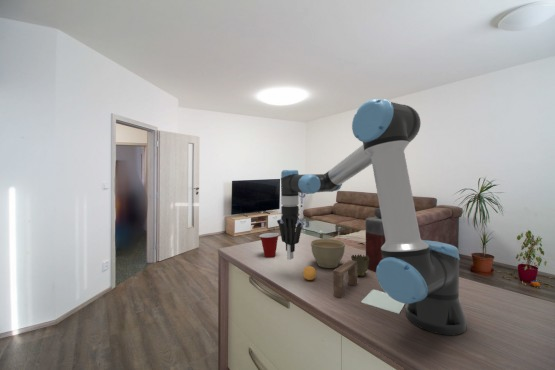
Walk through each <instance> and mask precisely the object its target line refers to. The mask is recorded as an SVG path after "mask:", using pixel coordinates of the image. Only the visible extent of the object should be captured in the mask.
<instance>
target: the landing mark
mask: <svg viewBox="0 0 555 370" xmlns="http://www.w3.org/2000/svg"><path fill="white" fill-rule="evenodd" d="M360 303H362V304H365V305H368V306H371V307H375V308H377V309H381V310H385V311H387V312H391V313H394V314H398V315H400V313H401V312H402V310H403V308H404V306H406V303H401V302H398V301H396V300H394V299H393V298H391V297H390V296H389V295H388V294H387V292H385V291H381V290H378V289H372V290H370V292H369V293H368V294H367V295H366V296H365V297H364V298H363V299H362V300H361V302H360Z"/></svg>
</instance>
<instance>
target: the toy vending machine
mask: <svg viewBox="0 0 555 370" xmlns="http://www.w3.org/2000/svg"><path fill="white" fill-rule="evenodd" d="M374 215H375V216H373V217H367V218H365V256H367V257H369V266H368V270H369V271H372V272H375V273H376V269H377V266H378V265H379V262H380V261H381V260H383V258H382V252H381V247H382V246H383V245H384V243H385V241H386V240H385V234H384V229H383V223H382V217H381V211H380V207H377V208H375V209H374Z"/></svg>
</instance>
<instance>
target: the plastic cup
mask: <svg viewBox="0 0 555 370" xmlns="http://www.w3.org/2000/svg"><path fill="white" fill-rule="evenodd" d="M279 235H280V233H278V232H267V233H262V234H260V235H259V238H260V240H261V241H260V242H261V246H262V250H263V255H264V257H265V258H269V259H271V258H275V257H276V253H277V246H278V240H279Z"/></svg>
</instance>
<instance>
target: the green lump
mask: <svg viewBox="0 0 555 370" xmlns="http://www.w3.org/2000/svg"><path fill="white" fill-rule="evenodd" d="M350 260H353V261H357V277H364V276H365V274H366V272H367V271H368V270H369V269H368V266H369V257H367V256H366V255H364V254H363V255H362V254H355V255H354V254H352V255H351V259H350Z"/></svg>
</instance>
